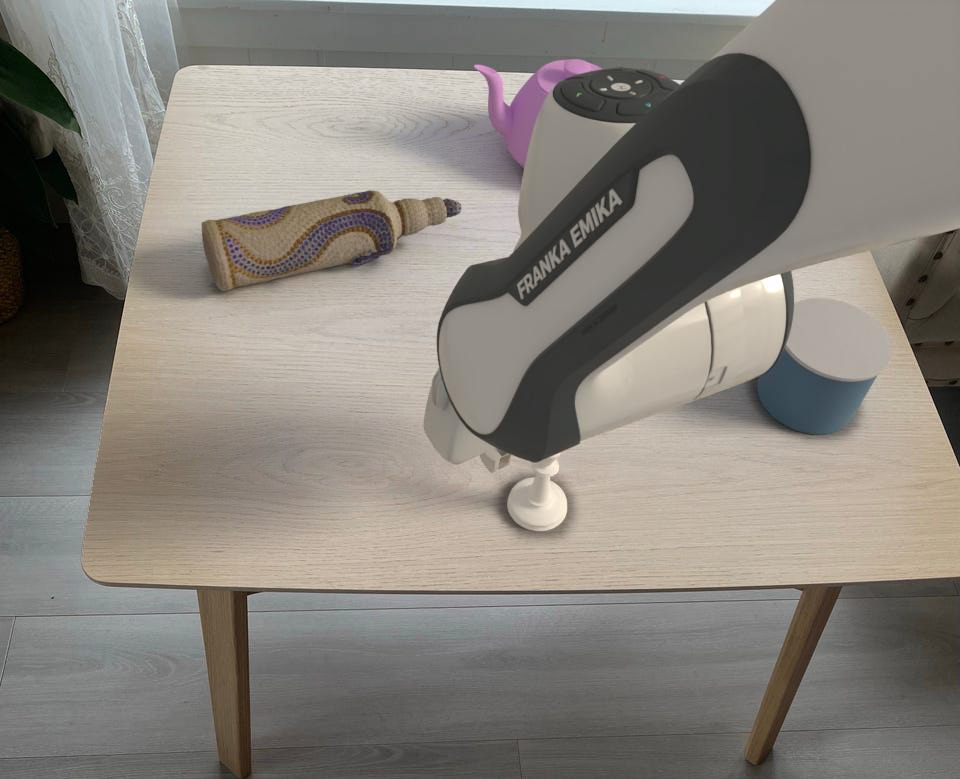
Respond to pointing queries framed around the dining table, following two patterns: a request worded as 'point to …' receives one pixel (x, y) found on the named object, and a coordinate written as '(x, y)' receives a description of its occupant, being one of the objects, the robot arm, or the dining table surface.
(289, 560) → the dining table surface
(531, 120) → the teapot
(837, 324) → the yogurt tub
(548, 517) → the chess piece
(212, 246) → the decorative bottle
